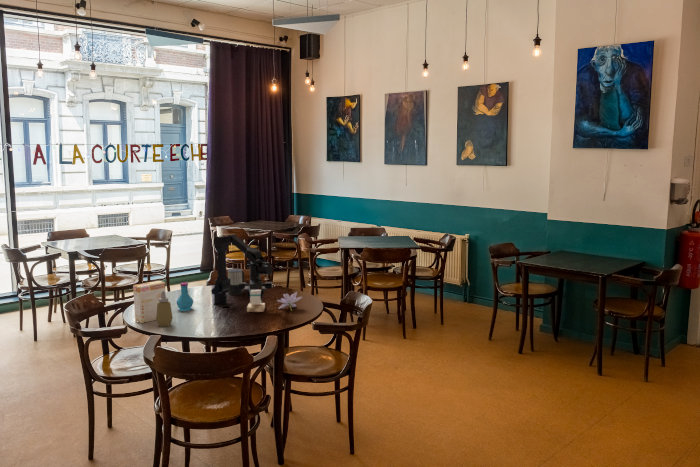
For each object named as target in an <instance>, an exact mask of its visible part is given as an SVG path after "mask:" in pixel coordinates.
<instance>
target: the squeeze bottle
mask: <svg viewBox="0 0 700 467" xmlns="http://www.w3.org/2000/svg"><path fill="white" fill-rule="evenodd" d="M165 293H166V291H165V292H164V291H162V294H161V298H159V302H158V303H157V317H156V320H155V321H156V323H157V325H158V326H159V327H161V328H163V327H164V328H166V327H170V326H171V325H172V321H173V319H174V318H173V312H172V306H171V305H172V304H171V302H170V301H169V297H167V296H166V295H165Z"/></svg>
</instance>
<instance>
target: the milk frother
mask: <svg viewBox="0 0 700 467" xmlns="http://www.w3.org/2000/svg"><path fill="white" fill-rule="evenodd" d="M227 277H228V279H230V284H231V285H230V288H229V290H228V292H227V293H228V295H231V296H232V295H233V296H237V295H242V294H243V293H244V289H238V284H239V283H240V282H245V272H244V270H243V269H242V268H230V269H228V270H227Z"/></svg>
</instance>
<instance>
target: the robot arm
mask: <svg viewBox="0 0 700 467" xmlns="http://www.w3.org/2000/svg"><path fill="white" fill-rule="evenodd" d="M212 243H213V247H214V249H215V251H216V259H217V260H216V262H217V278H216V279H215V282H214V286H213V288H212V289H211V290H210V292H211V295H214V297H213V298H214V303H213V305H214V306H219V305H223V306H224V305H226V304H227V302H228V295H227V293H228V292H229V291H228V290H229V288H230V285H231V284H230V279H228V274H227V251H228V248H229V244H232V245H233V246H234V247H235V248H236V249H238V250H239V251H241V252H242V253H243V254H244V256H245V258H246V259H247V260H248V262H246V265H247V266H249V283H247V282H246V281H244V282H240V283H239V284H238V289H243V291H245V293H246V294H247V296H248V298H249V300H250V291H251V290H259V288H261V289H260V290H261V301H262V300H263V296H264V293H265V291H267V290H269V289H273V287H274V285H273V282H272V281H265V282H264V283H263V280H262V279H261V275H267V276H271V274H272V273H273V270H274V268H273V265H272V264H271V262H269V261H268V262H266V260H265V258H264V256H263V255H262V251H260V249H257V248H255V247H251V246H250V245H248V244H247V243H245V241H243V240H242V239H241V238H239V237H238V235H237V234H235V233H233V234H228V235H220V236H216V237H214V238H213V242H212Z"/></svg>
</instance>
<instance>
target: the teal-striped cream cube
mask: <svg viewBox="0 0 700 467" xmlns="http://www.w3.org/2000/svg"><path fill="white" fill-rule="evenodd" d="M249 303H250V305H252V304H261V303H262V300H261V289H250V299H249Z"/></svg>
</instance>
